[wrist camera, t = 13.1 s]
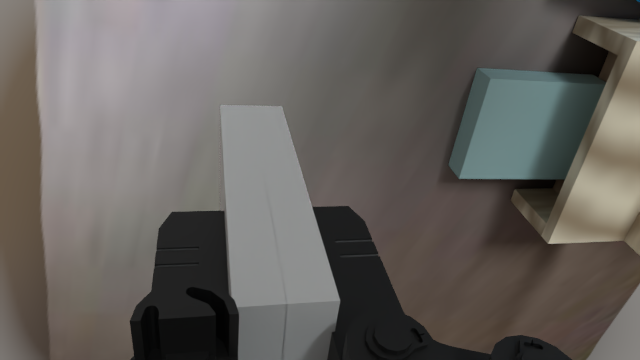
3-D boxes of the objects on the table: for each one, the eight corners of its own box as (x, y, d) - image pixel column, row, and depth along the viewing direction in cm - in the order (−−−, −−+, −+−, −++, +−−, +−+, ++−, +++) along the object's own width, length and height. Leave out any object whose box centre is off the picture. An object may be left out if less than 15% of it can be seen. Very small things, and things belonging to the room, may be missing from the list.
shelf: (578, 15, 44) (686, 63, 34) (671, 21, 46) (798, 68, 36) (510, 200, 54) (578, 278, 44) (588, 199, 56) (670, 273, 46)
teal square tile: (475, 66, 45) (490, 78, 43) (590, 73, 48) (611, 85, 46) (446, 162, 51) (459, 178, 48) (551, 164, 53) (568, 179, 51)
